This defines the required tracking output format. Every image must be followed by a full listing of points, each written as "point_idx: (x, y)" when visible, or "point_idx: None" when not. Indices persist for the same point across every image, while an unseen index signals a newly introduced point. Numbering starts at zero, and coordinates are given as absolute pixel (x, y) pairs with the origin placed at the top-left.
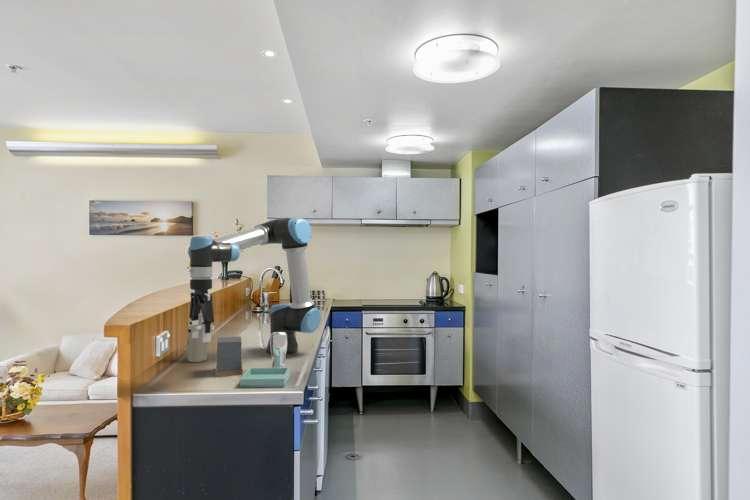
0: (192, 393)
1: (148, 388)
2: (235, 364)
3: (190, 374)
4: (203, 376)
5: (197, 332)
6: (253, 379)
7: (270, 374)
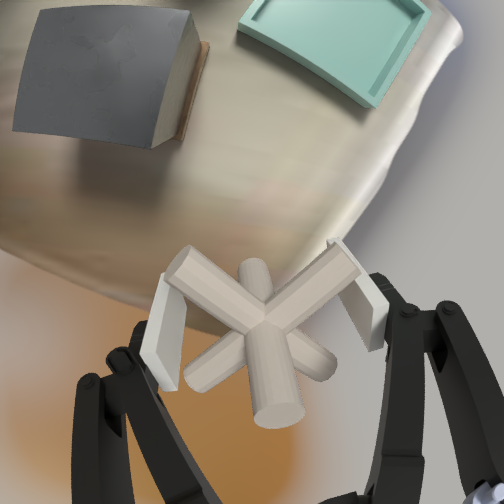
0: (332, 237)
1: (217, 323)
2: (193, 63)
3: (111, 211)
4: (155, 175)
5: (174, 304)
6: (396, 74)
7: None
